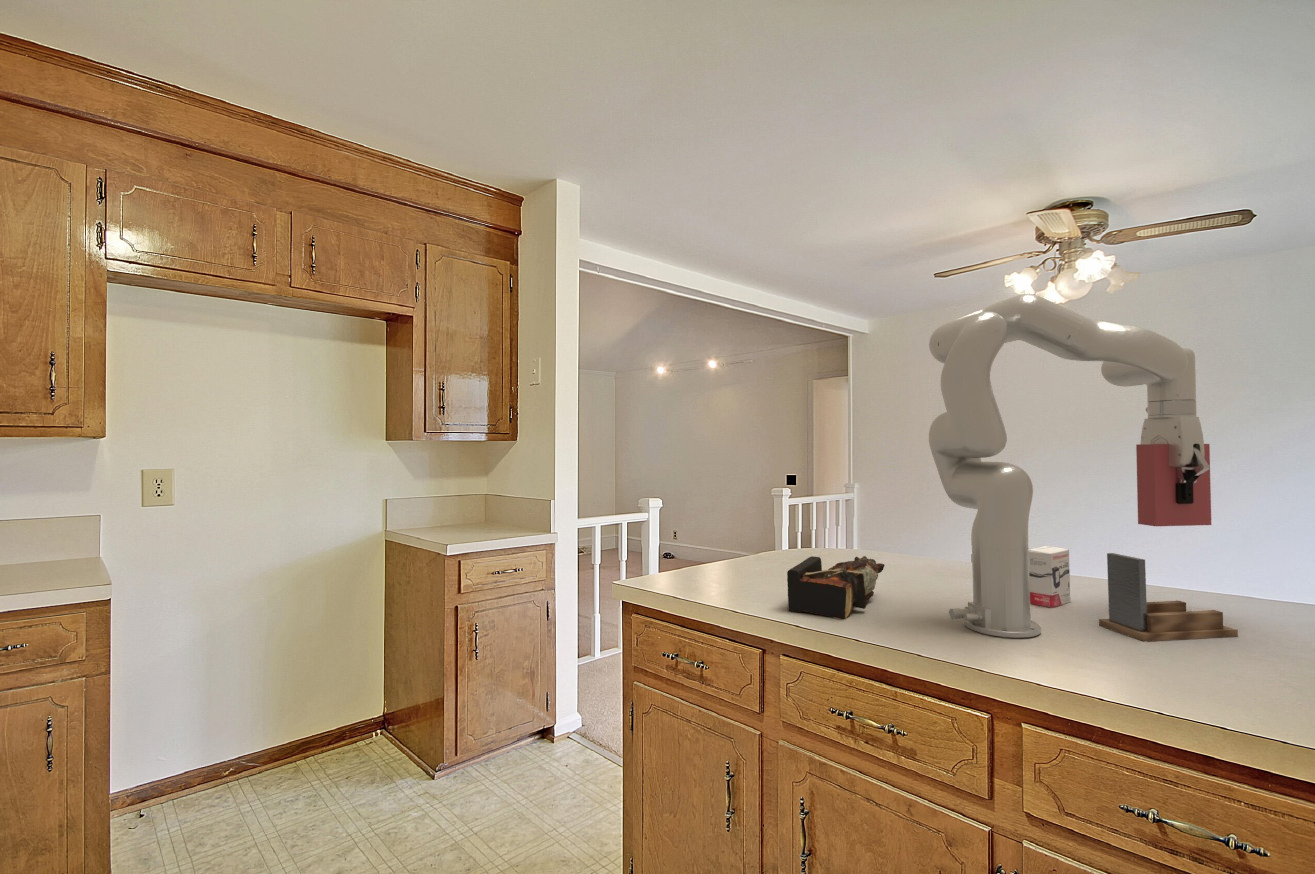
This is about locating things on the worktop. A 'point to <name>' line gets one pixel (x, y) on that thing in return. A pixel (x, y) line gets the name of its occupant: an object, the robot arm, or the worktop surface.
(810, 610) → the bookend
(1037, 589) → the ink box
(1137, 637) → the book rack
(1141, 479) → the book
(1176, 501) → the robot arm
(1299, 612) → the worktop surface
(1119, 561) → the steel bookend
